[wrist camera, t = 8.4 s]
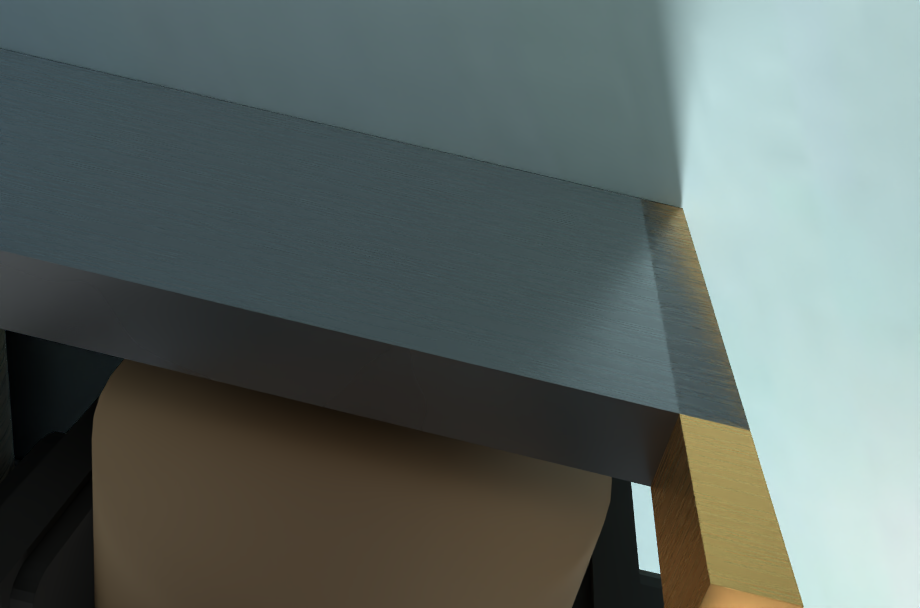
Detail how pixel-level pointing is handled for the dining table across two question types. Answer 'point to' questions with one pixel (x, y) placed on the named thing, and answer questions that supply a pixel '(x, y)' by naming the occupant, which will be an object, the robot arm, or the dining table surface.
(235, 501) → the roller
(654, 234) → the grey open box
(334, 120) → the dining table surface
